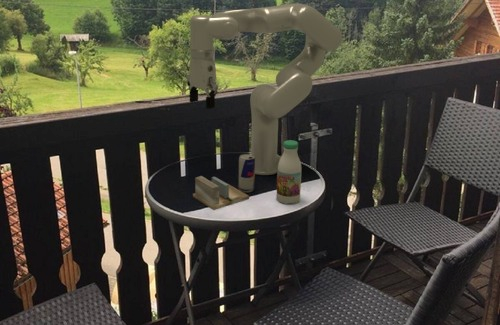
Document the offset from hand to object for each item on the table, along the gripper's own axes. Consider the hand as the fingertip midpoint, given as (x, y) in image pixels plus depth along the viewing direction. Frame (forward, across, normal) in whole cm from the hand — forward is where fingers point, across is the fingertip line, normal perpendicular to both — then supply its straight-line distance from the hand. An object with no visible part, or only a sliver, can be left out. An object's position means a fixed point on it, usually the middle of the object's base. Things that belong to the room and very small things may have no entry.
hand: (201, 104), depth 186 cm
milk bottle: (+26, -33, -12) cm, 44 cm away
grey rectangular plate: (+25, -20, +5) cm, 32 cm away
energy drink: (+26, -18, -6) cm, 33 cm away
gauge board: (+26, -18, +6) cm, 33 cm away
